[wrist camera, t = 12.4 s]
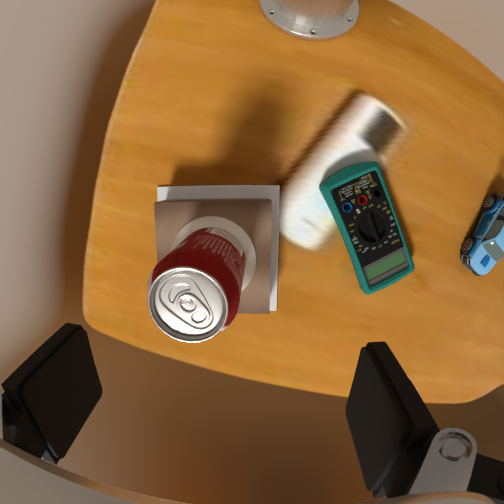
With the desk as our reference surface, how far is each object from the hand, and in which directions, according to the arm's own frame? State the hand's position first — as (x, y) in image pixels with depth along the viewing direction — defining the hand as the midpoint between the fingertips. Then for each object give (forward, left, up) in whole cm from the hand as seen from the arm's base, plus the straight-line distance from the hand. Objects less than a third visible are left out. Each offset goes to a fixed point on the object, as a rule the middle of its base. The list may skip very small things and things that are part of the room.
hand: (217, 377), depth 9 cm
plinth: (+2, -4, -26) cm, 27 cm away
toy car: (-1, +34, -27) cm, 43 cm away
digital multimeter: (-1, +14, -27) cm, 31 cm away
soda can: (+2, -3, -22) cm, 23 cm away
